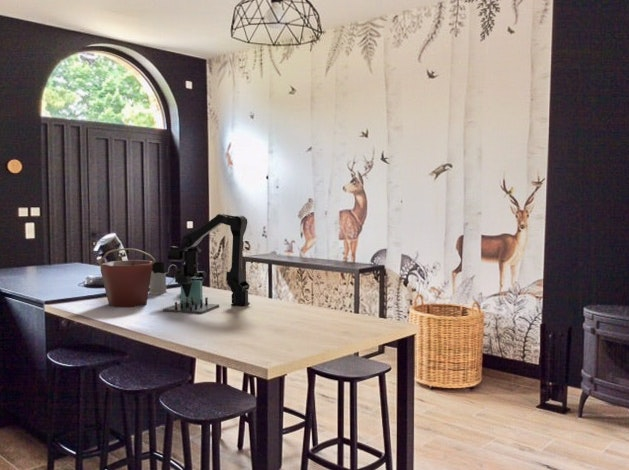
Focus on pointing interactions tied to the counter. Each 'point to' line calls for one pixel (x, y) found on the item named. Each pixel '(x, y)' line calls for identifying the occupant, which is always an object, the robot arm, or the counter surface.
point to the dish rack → (191, 306)
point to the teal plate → (193, 292)
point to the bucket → (126, 280)
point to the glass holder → (158, 278)
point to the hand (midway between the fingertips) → (191, 295)
